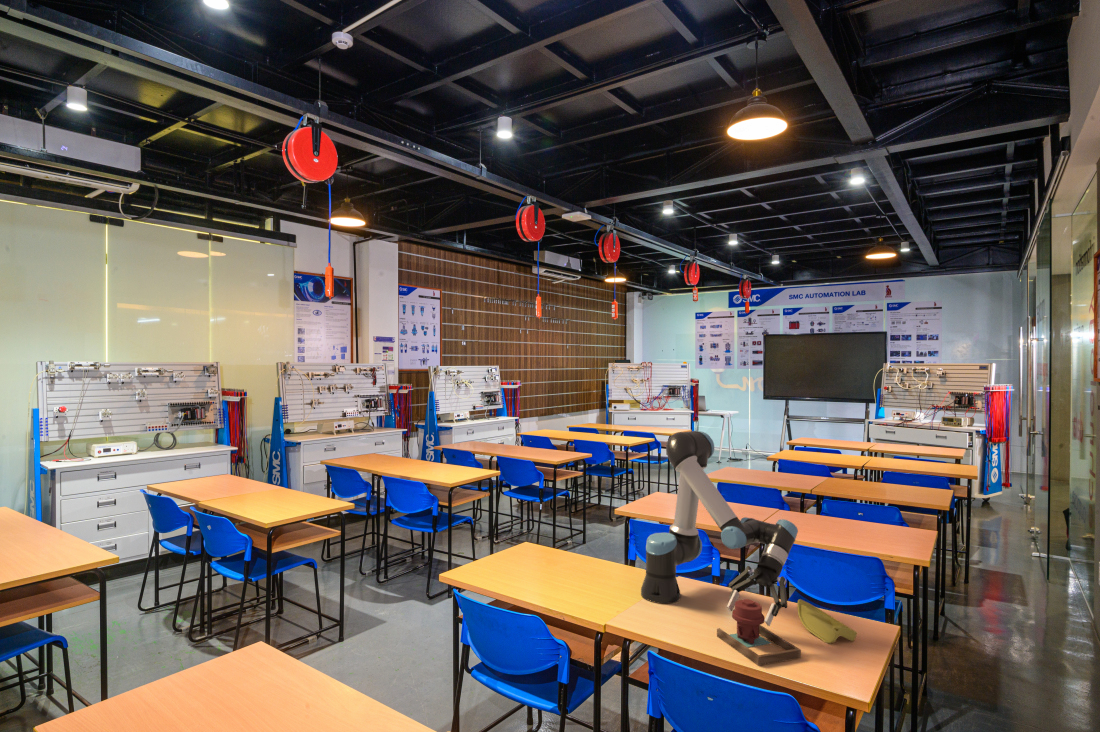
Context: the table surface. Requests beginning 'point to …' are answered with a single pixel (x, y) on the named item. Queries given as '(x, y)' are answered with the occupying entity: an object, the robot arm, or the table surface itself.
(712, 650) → the table surface
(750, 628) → the mechanical component
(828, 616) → the plastic component
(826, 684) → the table surface
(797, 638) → the table surface
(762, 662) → the bay
